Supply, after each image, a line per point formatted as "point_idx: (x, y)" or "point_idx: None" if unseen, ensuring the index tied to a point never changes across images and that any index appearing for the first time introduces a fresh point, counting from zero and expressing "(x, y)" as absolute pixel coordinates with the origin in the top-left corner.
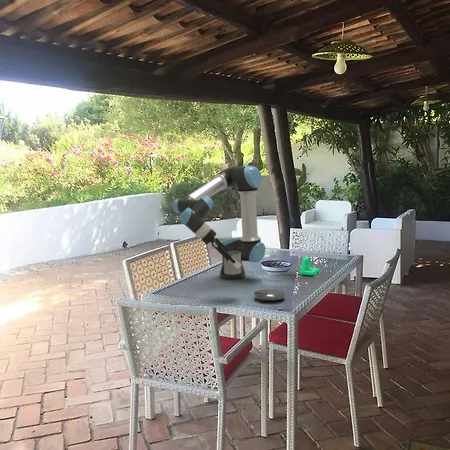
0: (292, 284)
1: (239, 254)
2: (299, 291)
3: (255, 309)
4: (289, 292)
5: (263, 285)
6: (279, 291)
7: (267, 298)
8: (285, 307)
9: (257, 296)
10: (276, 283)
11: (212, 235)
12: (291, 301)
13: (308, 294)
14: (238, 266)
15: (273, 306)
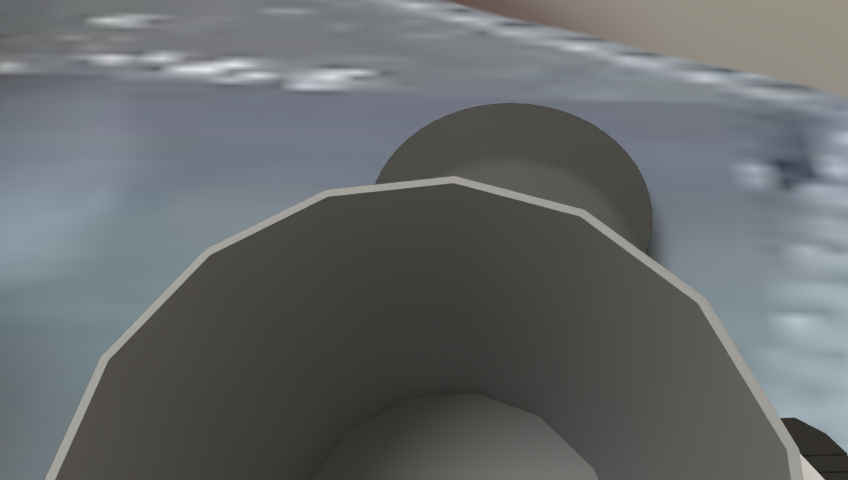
0: (126, 87)
1: (580, 228)
2: (315, 56)
3: (844, 354)
4: (328, 107)
5: (72, 273)
6: (450, 135)
7: (650, 227)
8: (724, 137)
9: None
10: (54, 180)
11: None
12: (562, 101)
13: (394, 16)
14: None
15: (714, 212)
